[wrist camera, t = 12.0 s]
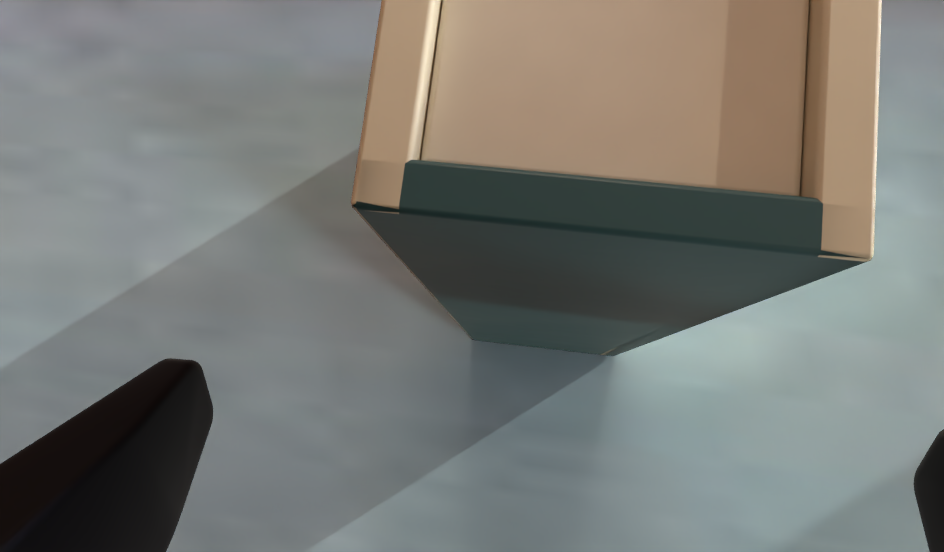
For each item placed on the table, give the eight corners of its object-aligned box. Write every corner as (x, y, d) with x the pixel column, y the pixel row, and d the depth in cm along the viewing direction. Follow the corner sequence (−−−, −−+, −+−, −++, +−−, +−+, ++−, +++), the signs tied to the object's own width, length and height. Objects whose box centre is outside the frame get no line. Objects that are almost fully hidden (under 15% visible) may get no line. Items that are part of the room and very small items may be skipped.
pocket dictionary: (614, 356, 17) (877, 260, 4) (471, 339, 17) (348, 207, 5) (640, 66, 18) (905, -642, 6) (505, 55, 18) (477, -639, 6)
